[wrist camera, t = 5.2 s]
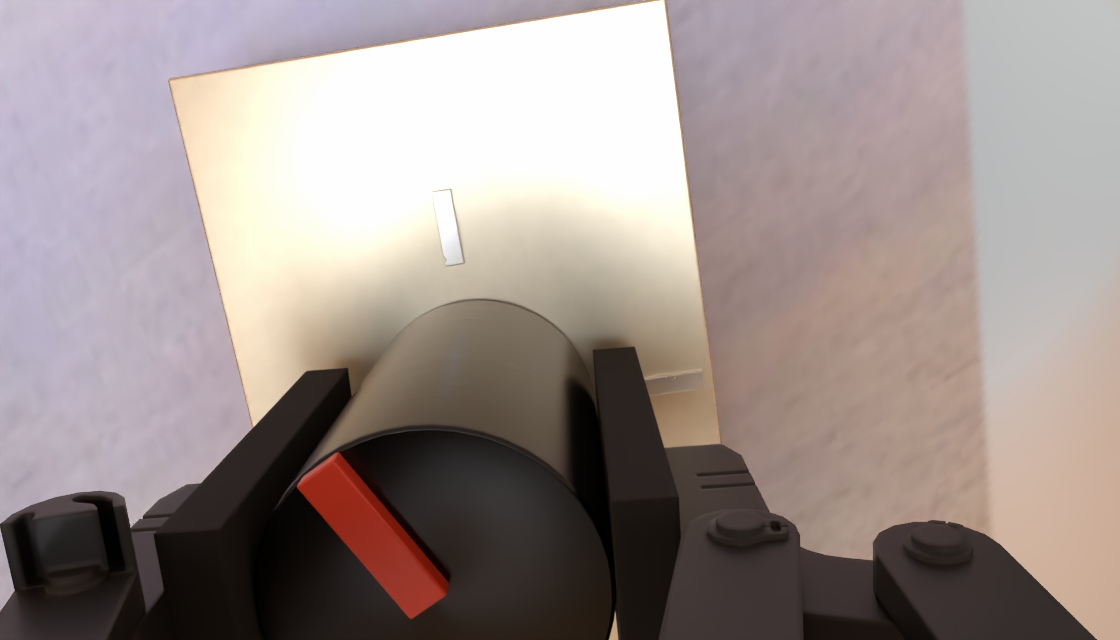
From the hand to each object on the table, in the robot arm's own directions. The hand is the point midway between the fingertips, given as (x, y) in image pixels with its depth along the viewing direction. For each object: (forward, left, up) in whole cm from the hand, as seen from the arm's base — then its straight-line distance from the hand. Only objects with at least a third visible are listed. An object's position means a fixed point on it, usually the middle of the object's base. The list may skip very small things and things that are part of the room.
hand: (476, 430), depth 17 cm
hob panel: (0, 0, -4) cm, 4 cm away
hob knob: (0, 0, -1) cm, 1 cm away
